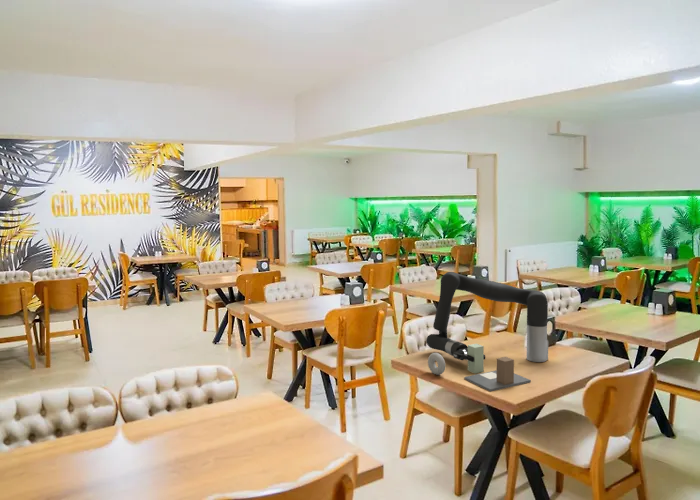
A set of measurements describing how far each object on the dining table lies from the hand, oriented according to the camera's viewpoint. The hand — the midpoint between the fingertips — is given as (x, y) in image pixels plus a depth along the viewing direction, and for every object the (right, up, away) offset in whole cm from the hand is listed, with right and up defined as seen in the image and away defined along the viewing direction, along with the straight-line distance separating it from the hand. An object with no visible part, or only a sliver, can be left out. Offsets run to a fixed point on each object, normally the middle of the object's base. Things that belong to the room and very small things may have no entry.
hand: (479, 358), depth 242 cm
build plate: (+5, -8, -10) cm, 14 cm away
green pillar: (-1, -6, +3) cm, 7 cm away
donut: (-19, -7, 0) cm, 21 cm away
